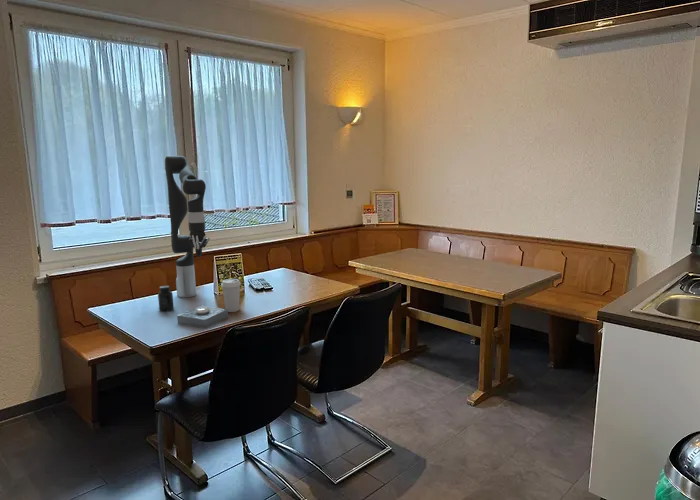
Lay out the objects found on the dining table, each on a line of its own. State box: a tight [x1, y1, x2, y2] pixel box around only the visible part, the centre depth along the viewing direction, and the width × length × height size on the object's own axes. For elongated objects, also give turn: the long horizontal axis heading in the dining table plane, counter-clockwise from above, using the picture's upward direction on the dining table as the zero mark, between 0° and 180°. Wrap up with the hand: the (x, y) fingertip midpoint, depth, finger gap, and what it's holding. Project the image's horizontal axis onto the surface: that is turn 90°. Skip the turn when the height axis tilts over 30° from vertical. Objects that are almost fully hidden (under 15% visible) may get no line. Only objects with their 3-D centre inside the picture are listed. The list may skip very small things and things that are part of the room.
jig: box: [176, 305, 229, 329], centre depth 230 cm, size 16×16×4 cm
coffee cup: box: [220, 278, 242, 313], centre depth 244 cm, size 10×10×15 cm
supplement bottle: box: [157, 285, 175, 313], centre depth 246 cm, size 7×7×12 cm
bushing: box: [196, 306, 210, 314], centre depth 230 cm, size 6×6×5 cm
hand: (199, 256), depth 243 cm, fingers closed
